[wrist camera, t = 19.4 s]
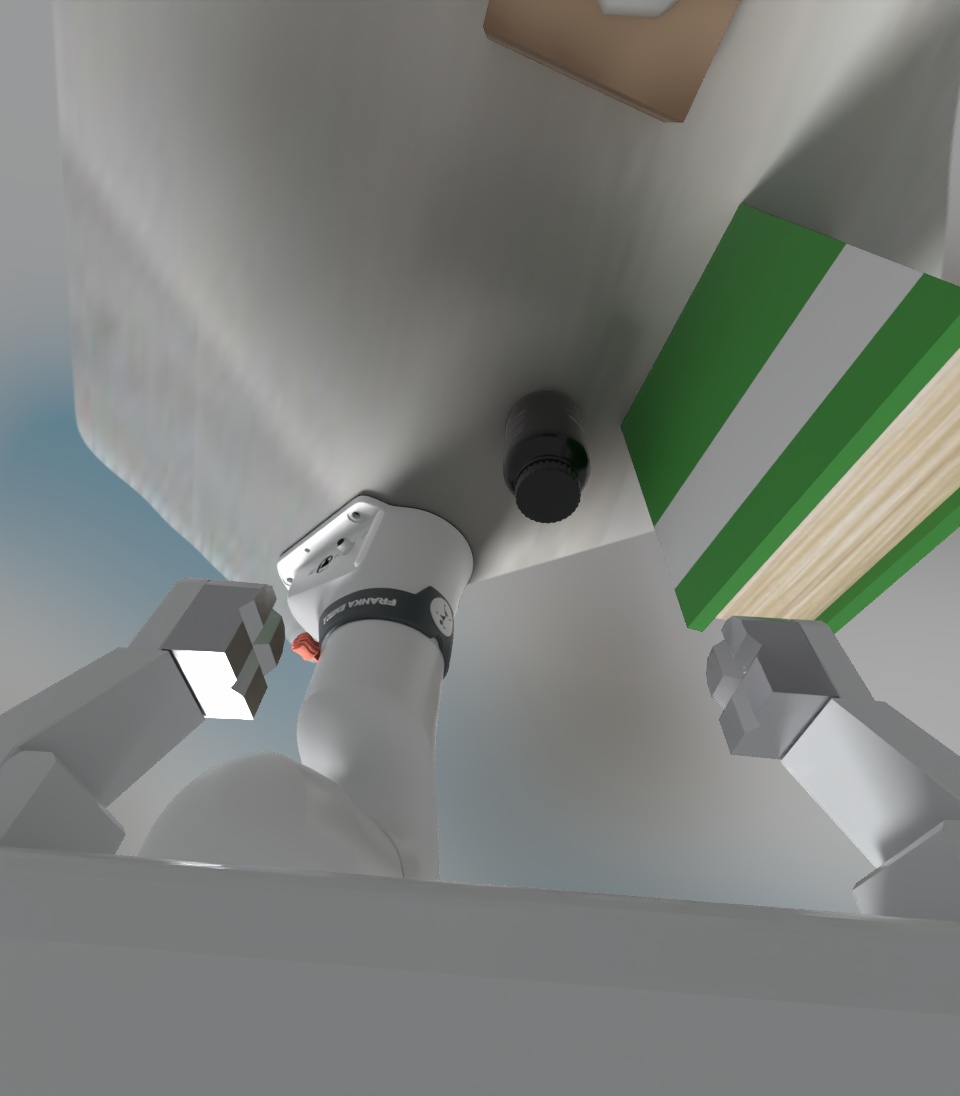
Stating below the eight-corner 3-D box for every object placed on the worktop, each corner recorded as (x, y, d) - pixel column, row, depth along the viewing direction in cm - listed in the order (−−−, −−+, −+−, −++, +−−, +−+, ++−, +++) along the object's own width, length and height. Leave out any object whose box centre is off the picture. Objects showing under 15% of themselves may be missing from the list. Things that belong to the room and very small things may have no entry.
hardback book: (694, 450, 48) (804, 659, 29) (620, 426, 47) (687, 627, 28) (832, 241, 37) (1147, 364, 18) (740, 203, 36) (978, 293, 17)
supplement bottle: (595, 403, 45) (614, 476, 36) (561, 467, 50) (570, 546, 40) (522, 376, 44) (523, 444, 35) (494, 443, 48) (488, 519, 39)
